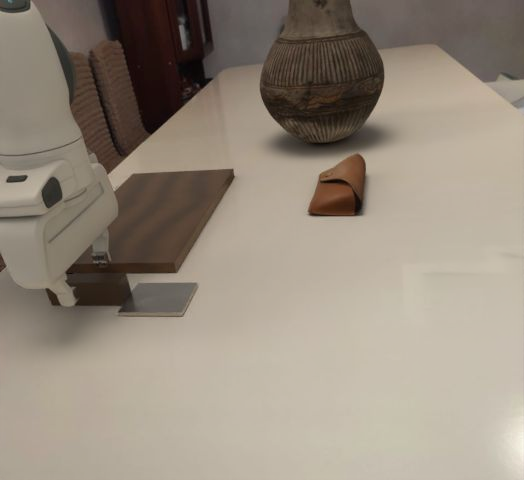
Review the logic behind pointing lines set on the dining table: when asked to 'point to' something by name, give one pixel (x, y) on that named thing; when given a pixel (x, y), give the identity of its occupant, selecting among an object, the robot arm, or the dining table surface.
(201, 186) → the board
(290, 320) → the dining table surface
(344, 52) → the vase
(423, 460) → the dining table surface
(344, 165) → the sunglasses case
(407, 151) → the dining table surface
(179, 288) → the spatula
